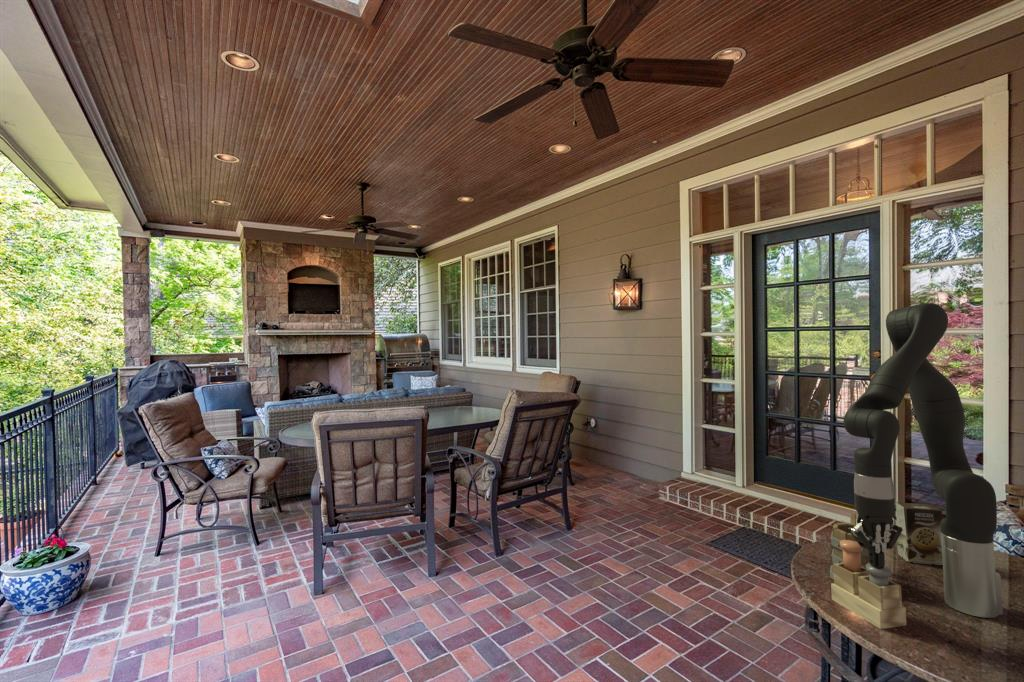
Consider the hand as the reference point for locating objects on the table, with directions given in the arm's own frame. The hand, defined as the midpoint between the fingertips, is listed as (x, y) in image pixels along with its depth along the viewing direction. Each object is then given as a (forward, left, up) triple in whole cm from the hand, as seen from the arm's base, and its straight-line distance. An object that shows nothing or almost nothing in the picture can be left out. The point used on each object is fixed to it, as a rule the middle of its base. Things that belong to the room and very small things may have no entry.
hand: (877, 566), depth 108 cm
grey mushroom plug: (0, 0, -7) cm, 7 cm away
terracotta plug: (+2, -7, -4) cm, 8 cm away
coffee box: (-33, -34, -12) cm, 49 cm away
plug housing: (+1, -3, -12) cm, 13 cm away
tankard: (-9, -22, -12) cm, 27 cm away
